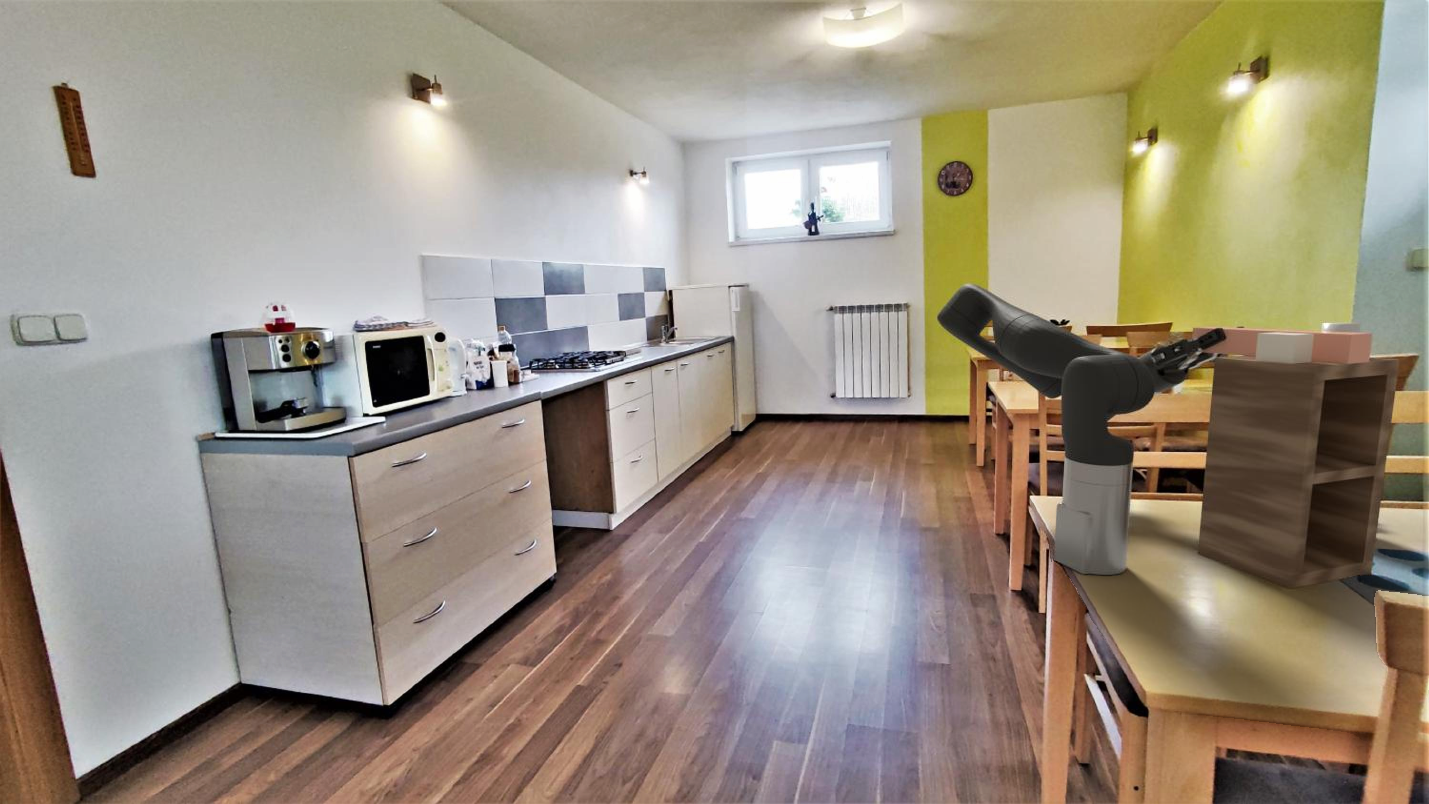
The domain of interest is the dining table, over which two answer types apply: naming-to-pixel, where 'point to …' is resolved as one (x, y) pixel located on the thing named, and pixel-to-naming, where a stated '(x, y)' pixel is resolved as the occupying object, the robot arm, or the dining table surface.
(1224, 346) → the coral bar brick
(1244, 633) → the dining table surface
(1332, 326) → the grey-blue round brick
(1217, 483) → the walnut shelf
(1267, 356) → the off-white block brick
